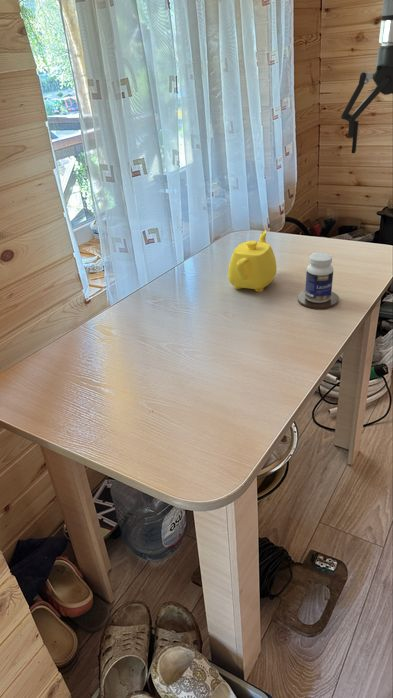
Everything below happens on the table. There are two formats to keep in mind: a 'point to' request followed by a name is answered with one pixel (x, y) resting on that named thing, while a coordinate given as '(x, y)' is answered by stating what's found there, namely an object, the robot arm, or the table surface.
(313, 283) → the pill bottle
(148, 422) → the table surface
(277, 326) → the table surface
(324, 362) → the table surface
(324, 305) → the coaster
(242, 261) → the teapot
